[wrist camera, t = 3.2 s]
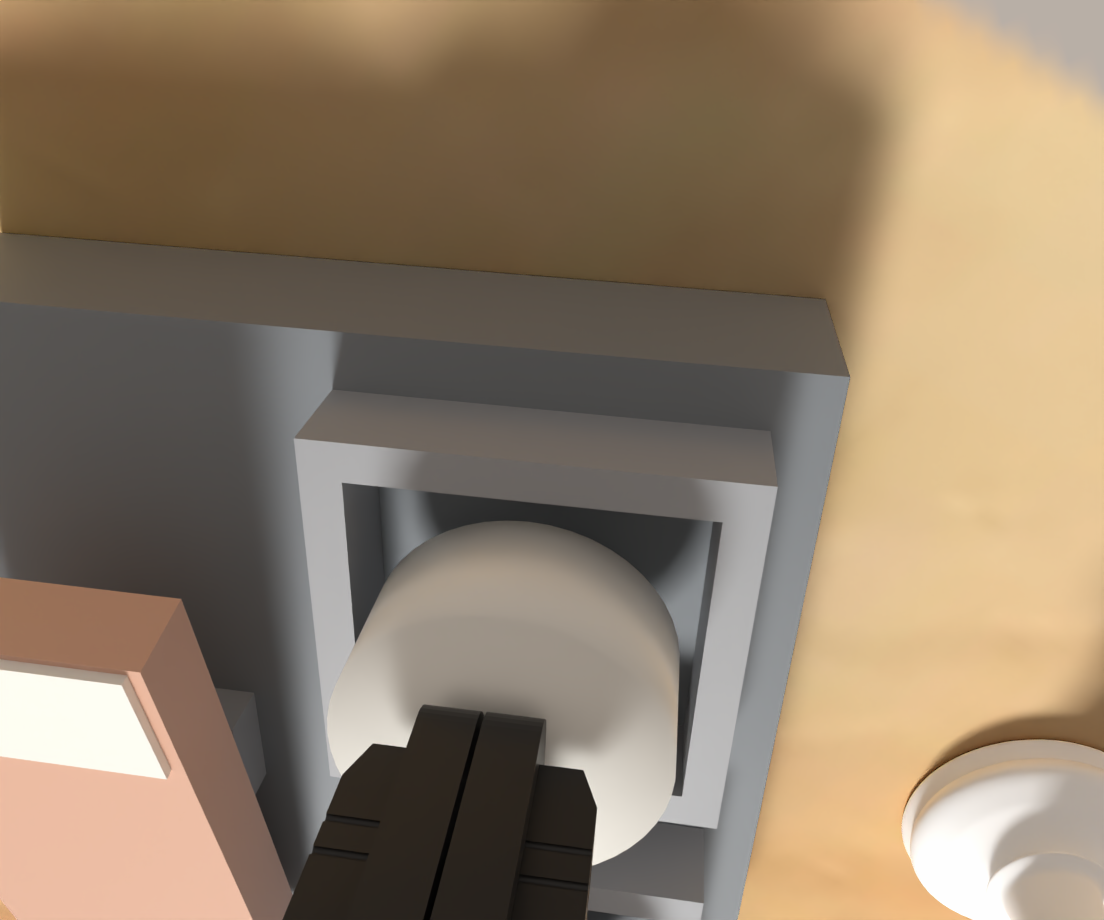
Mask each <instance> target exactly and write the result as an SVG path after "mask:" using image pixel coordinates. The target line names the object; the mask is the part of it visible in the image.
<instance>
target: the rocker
mask: <svg viewBox="0 0 1104 920" xmlns="http://www.w3.org/2000/svg"><path fill="white" fill-rule="evenodd" d="M292 895H293V894H292V891H291V889H290V886H289V883H288V881H287V878H286V876H285V873H284V870H283V868H282V865H281V862H280V860H279V857H278V854H277V852H276V849H275V846H274V844H273V841H272V838H271V836H270V833H269V830H268V828H267V825H266V822H265V820H264V817H263V814H262V812H261V809H260V807H259V804H258V801H257V799H256V796H255V793H254V791H253V788H252V785H251V783H250V780H249V777H248V775H247V772H246V769H245V767H244V764H243V761H242V759H241V756H240V753H239V751H238V748H237V745H236V743H235V740H234V738H233V735H232V732H231V730H230V727H229V724H228V722H227V719H226V716H225V714H224V711H223V708H222V706H221V703H220V700H219V698H218V695H217V692H216V690H215V687H214V684H213V682H212V679H211V676H210V674H209V671H208V669H207V666H206V663H205V661H204V658H203V655H202V653H201V650H200V647H199V645H198V642H197V639H196V637H195V634H194V631H193V629H192V626H191V623H190V621H189V618H188V615H187V613H186V610H185V607H184V605H183V602H182V600H181V599H177V598H169V597H161V596H152V595H144V594H135V593H127V592H119V591H110V590H102V589H93V588H85V587H77V586H68V585H60V584H51V583H43V582H35V581H26V580H18V579H10V578H1V577H0V900H1V901H2V902H3V903H4V904H5V906H6V907H7V908H8V909H9V911H10V912H11V913H12V914H13V915H14V917H15V918H16V919H17V920H282V919H283V917H284V915H285V912H286V910H287V907H288V905H289V902H290V900H291V898H292Z"/></svg>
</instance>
